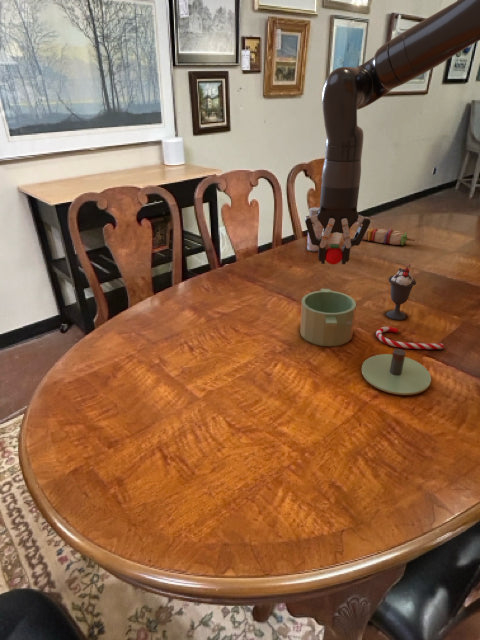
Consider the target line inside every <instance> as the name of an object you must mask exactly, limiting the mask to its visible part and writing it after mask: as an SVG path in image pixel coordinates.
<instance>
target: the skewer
mask: <svg viewBox="0 0 480 640" xmlns="http://www.w3.org/2000/svg"><path fill="white" fill-rule="evenodd" d="M362 240H364V241H368V242H369V241H371V242H375V243H379V244H380V243H381V244H387V245H388V244H390V245H394V246H395V245H396V246H397V245H398V246H399V245H401V246H404V244H405V243H406V242H407V241H411V242H416V238H415V239H414V238H409V237H408V233H407V232H405V231H401V230H395V229H394V230H393V229H384V228H374V227H371V228H370V227H368V229H367V231H366V233H365V235H364V237H363V239H362Z"/></svg>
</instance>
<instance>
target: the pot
mask: <svg viewBox="0 0 480 640" xmlns="http://www.w3.org/2000/svg"><path fill="white" fill-rule="evenodd" d="M356 313H357V302H356V300H355V299H354V298H353V297H352V296H350V295H348V294H346V293H343V292H340V291H335V290H331V288H320V290H316V291H311V292H309V293H307V294H305V295H304V296H303V297H302V298H301V305H300V322H299V323H300V324H299V333H300V335H301V337H302V338H303V340H305V341H307V342H308V343H310V344H313V345H318V346H321V347H338V346H342V345H345V344H347V343H348V342H349V341H351V339H352V338H353V335H354V328H355V321H356Z"/></svg>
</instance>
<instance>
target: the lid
mask: <svg viewBox="0 0 480 640" xmlns="http://www.w3.org/2000/svg"><path fill="white" fill-rule="evenodd" d="M406 354H407V351H405V350H404V349H403V348H394V349H393V350H392V354H391V353H380V354H376V355H372V356H369V357H368V358H367V359H365V360H364V361H363V362H362V365H361V374H362V377H363V378H364V380H365V381H366V382H368V383H369V384H370V385H371V386H373V387H374V388H375V389H378V390H380V391H383V392H386V393H389V394H393V395H399V396H413V395H417V394H420V393H423V392H425V391H426V390H427V389H428V388H429V387H430V385H431V382H432V376H431V374H430V371H429V370H428V369H427V368H426V367H425V366H424V365H423V364H421V363H420V362H418V361H417V360H415V359H413V358H410V357H408V356H406Z"/></svg>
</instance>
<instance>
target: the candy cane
mask: <svg viewBox="0 0 480 640" xmlns="http://www.w3.org/2000/svg"><path fill="white" fill-rule="evenodd" d="M387 332H389V333H394V334H398V332H399V329H398V328H396V327H392V326H383V327H380V328H378V329H376V332H375V336H376V338H377V340H378V341H380V342H381V343H383V344H384V345H388V346H391V347H394V348H398V349H408V350H409V349H410V350H412V349H413V350H443V349H444V348H445V345H444V344H443V343H419V342H417V343H416V342H405V341H404V342H402V341H398V340H397V341H396V340H392V339H389V338H388V337H385V336H384V335H383V333H387Z"/></svg>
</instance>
